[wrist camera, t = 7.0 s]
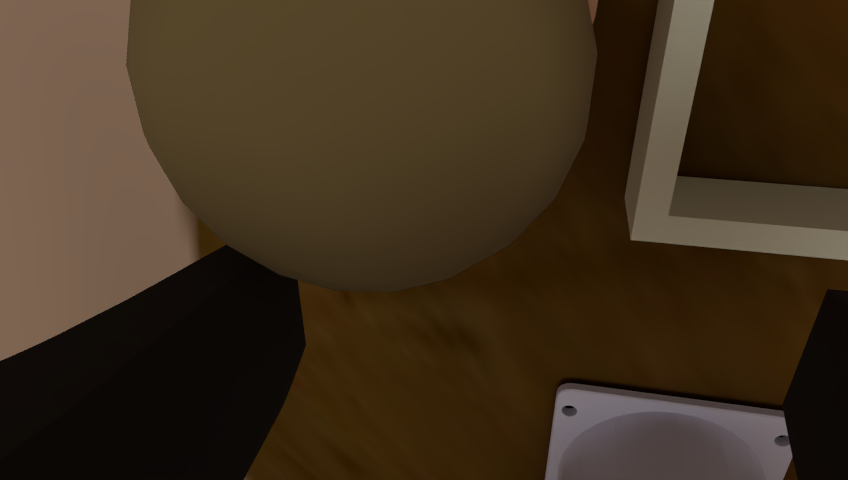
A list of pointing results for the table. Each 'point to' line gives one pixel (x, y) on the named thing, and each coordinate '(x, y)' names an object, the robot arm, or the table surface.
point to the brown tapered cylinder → (364, 126)
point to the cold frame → (703, 197)
